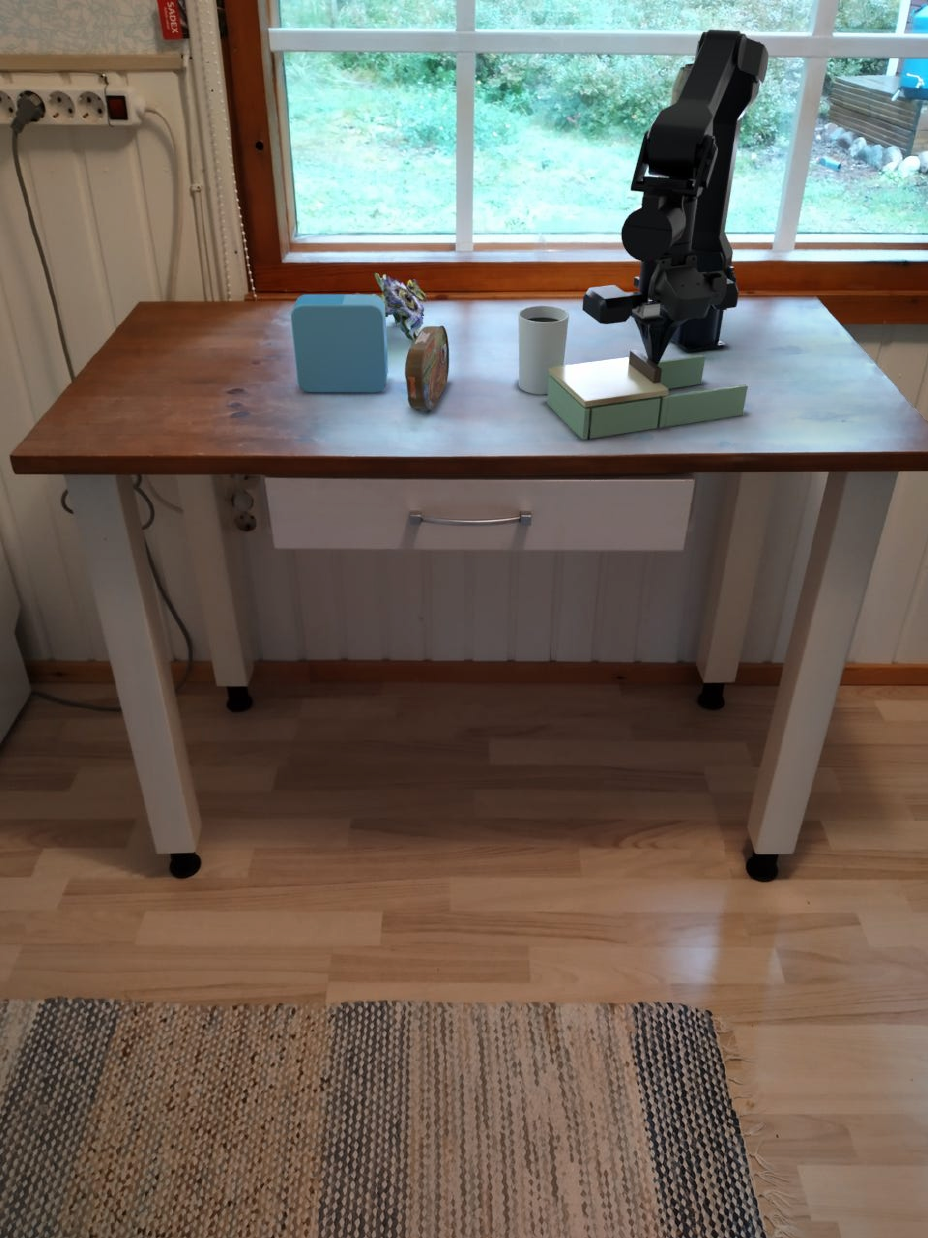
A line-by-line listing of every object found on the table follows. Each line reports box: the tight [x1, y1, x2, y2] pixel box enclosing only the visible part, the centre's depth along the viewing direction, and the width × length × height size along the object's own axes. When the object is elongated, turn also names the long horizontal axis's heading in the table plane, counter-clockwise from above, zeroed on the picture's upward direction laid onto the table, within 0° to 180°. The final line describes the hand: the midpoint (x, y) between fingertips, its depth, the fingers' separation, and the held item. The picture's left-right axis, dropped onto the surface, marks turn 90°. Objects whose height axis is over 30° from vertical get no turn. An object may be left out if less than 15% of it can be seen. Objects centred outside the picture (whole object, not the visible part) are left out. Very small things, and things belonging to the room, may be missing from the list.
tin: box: [404, 325, 450, 411], centre depth 131 cm, size 15×3×8 cm, turn 168°
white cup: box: [517, 305, 570, 395], centre depth 133 cm, size 7×7×10 cm
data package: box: [290, 293, 389, 393], centre depth 132 cm, size 12×4×12 cm, turn 90°
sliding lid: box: [549, 349, 669, 408], centre depth 125 cm, size 11×11×3 cm
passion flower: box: [354, 272, 428, 342], centre depth 149 cm, size 11×11×12 cm
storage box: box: [546, 354, 749, 441], centre depth 129 cm, size 23×11×4 cm, turn 109°
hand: (653, 364), depth 126 cm, fingers closed
